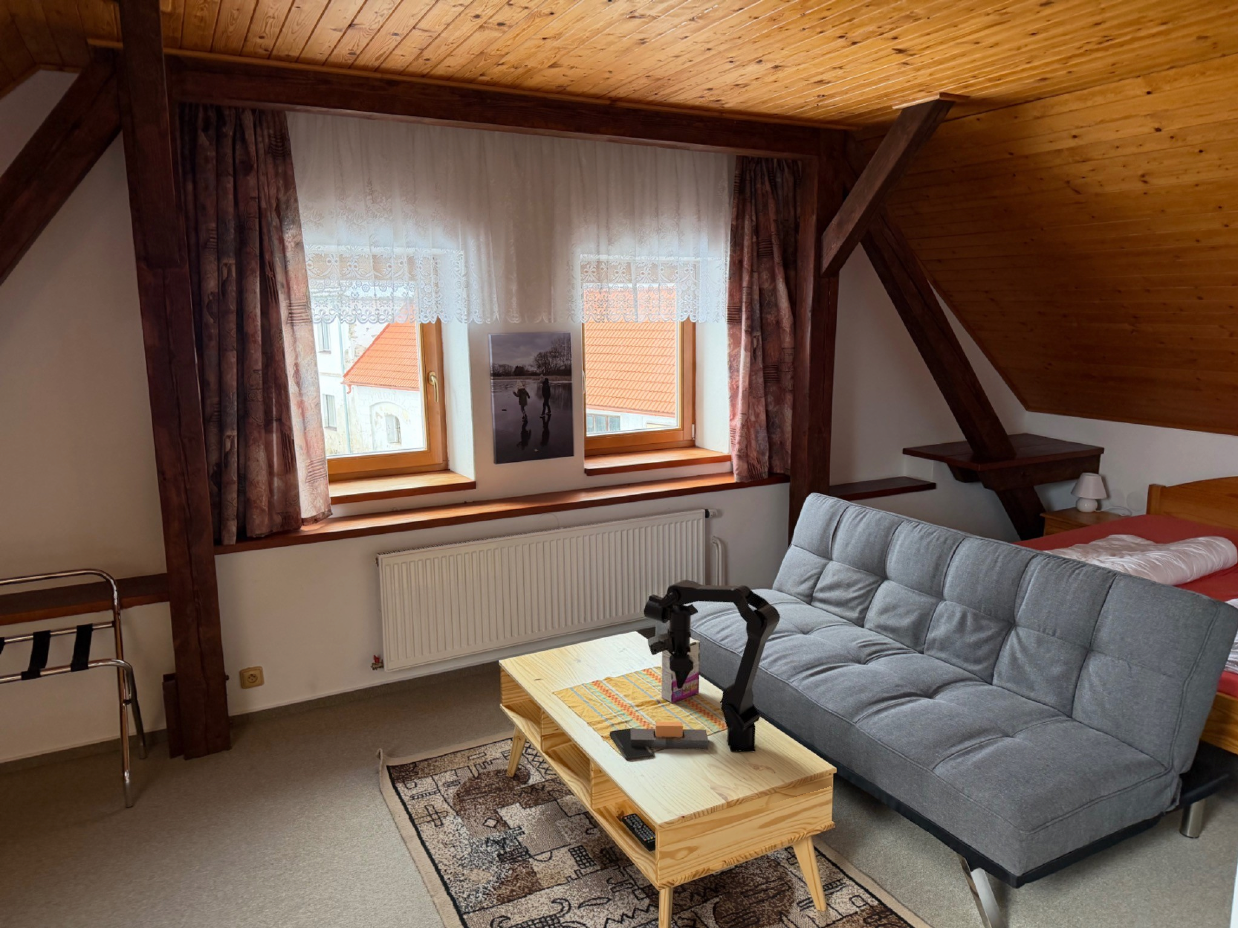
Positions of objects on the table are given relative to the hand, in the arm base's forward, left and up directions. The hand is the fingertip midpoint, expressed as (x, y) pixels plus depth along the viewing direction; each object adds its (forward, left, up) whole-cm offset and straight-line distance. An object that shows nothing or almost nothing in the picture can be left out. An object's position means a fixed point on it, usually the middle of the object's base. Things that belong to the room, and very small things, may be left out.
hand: (678, 681), depth 244 cm
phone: (+13, +13, -13) cm, 22 cm away
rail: (+3, +12, -12) cm, 17 cm away
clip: (+3, +12, -12) cm, 17 cm away
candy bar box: (-2, -17, -12) cm, 21 cm away
